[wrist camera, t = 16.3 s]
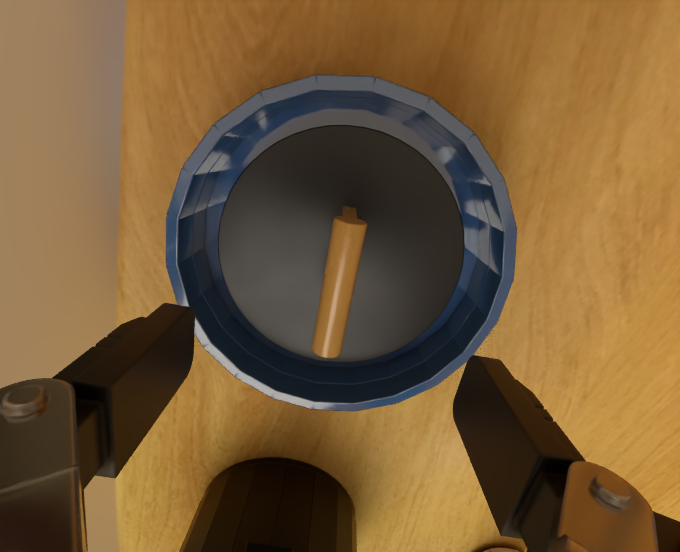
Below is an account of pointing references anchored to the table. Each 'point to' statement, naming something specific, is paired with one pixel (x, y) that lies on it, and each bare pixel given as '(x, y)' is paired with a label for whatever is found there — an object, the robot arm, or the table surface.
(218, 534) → the pot
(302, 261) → the lid
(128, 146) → the table surface
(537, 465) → the robot arm
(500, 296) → the pan
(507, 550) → the beverage can
